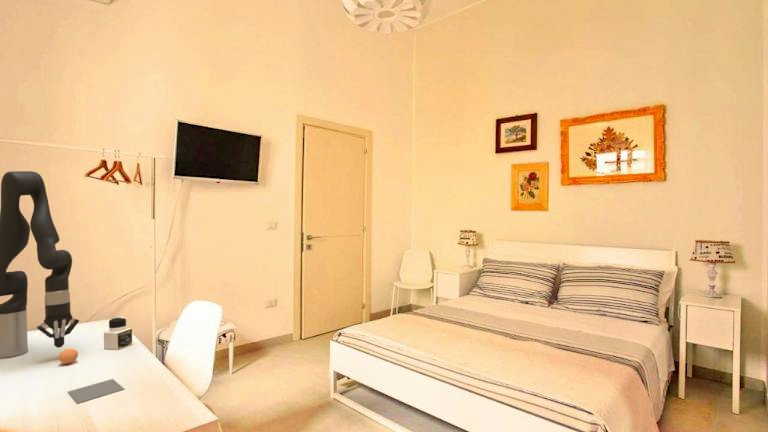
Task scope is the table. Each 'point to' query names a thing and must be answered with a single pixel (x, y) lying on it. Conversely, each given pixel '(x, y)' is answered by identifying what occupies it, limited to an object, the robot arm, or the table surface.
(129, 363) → the table surface
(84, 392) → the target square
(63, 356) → the ball
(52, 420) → the table surface
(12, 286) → the robot arm
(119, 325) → the medicine bottle
